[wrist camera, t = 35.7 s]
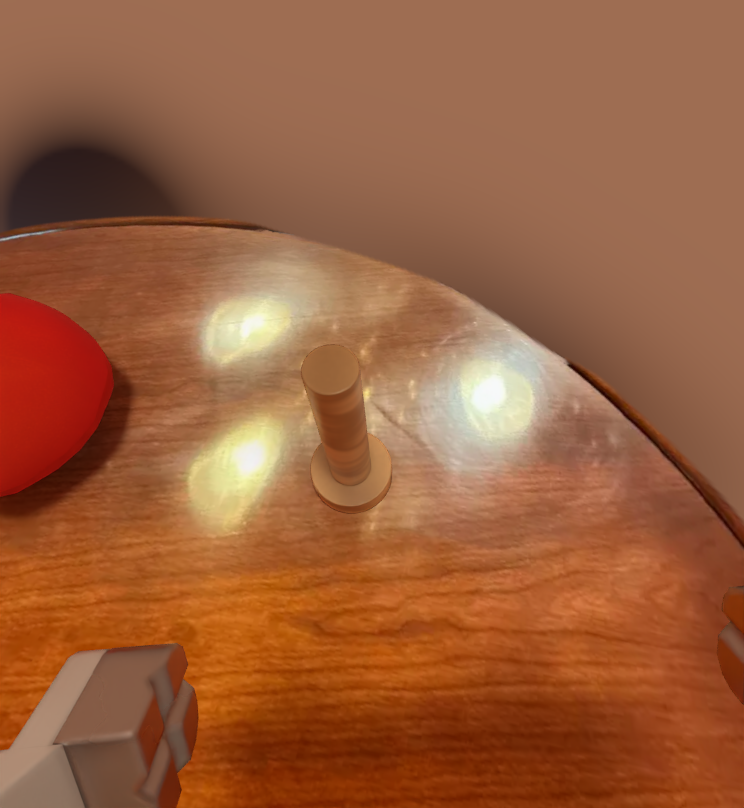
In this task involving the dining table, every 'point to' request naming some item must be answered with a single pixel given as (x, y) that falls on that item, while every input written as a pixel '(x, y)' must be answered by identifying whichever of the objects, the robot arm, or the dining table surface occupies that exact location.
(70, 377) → the tomato
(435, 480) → the dining table surface
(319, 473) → the wooden peg stand
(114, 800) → the robot arm
